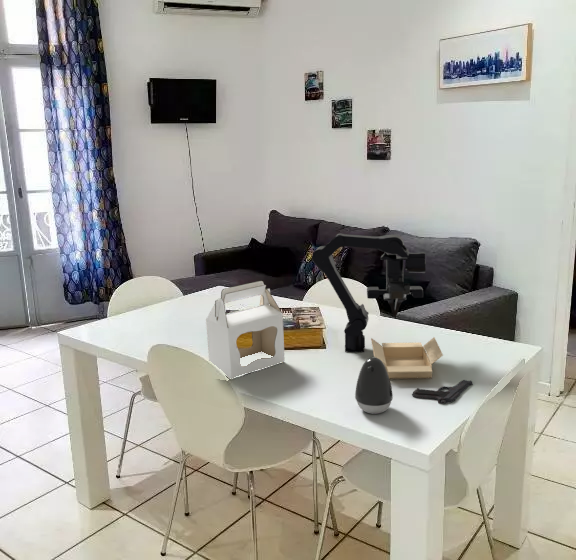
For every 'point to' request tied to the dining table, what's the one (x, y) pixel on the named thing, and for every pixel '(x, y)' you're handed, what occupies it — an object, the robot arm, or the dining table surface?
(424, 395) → the handgun
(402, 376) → the carton
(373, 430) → the dining table surface
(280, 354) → the gable box
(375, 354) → the flap
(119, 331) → the dining table surface
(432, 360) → the flap
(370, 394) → the dark grey egg device
